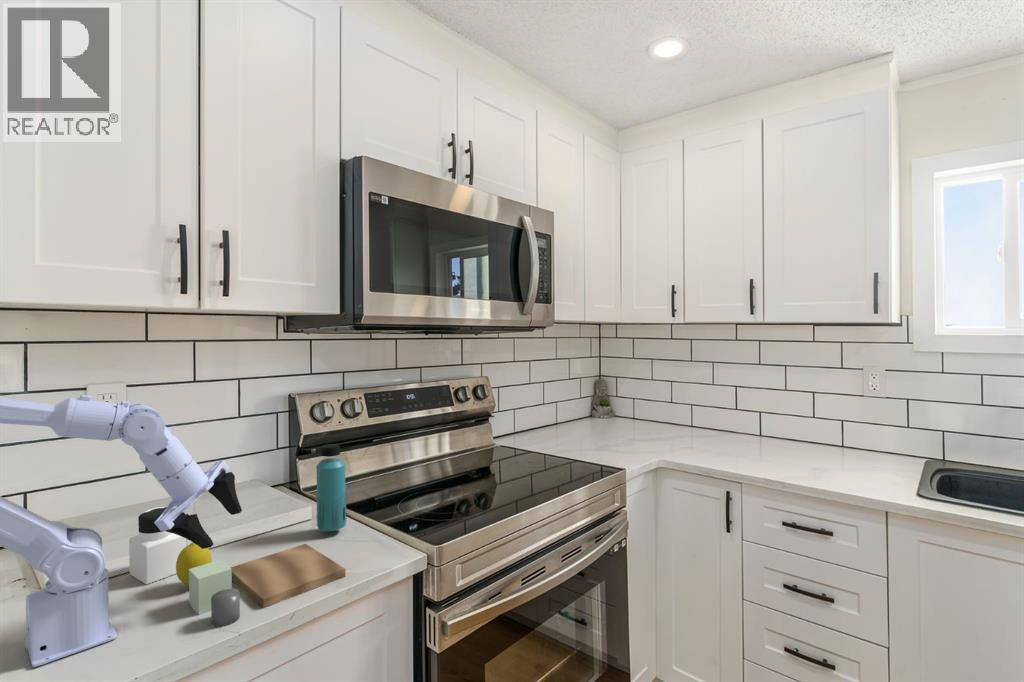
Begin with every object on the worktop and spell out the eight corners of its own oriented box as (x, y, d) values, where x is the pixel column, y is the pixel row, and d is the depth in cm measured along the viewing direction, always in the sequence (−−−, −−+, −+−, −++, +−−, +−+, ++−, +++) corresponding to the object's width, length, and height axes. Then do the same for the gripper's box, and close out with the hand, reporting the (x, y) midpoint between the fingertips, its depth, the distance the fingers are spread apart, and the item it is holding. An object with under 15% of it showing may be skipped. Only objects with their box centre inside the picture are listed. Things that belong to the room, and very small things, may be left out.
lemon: (195, 595, 92) (194, 550, 91) (168, 591, 93) (167, 547, 92) (219, 580, 97) (218, 537, 97) (193, 577, 98) (192, 534, 98)
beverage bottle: (347, 535, 117) (347, 447, 117) (316, 540, 115) (315, 449, 114) (345, 525, 123) (345, 440, 123) (315, 529, 121) (315, 443, 120)
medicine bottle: (188, 570, 101) (187, 508, 100) (146, 585, 95) (144, 520, 94) (170, 560, 105) (169, 501, 104) (129, 574, 99) (127, 511, 98)
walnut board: (263, 608, 88) (263, 599, 88) (228, 576, 99) (228, 568, 98) (345, 576, 99) (345, 568, 99) (305, 550, 110) (305, 543, 109)
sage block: (199, 615, 86) (198, 579, 85) (189, 604, 89) (188, 569, 89) (232, 603, 89) (231, 568, 89) (221, 592, 93) (220, 559, 92)
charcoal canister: (216, 629, 81) (216, 604, 81) (207, 619, 84) (207, 595, 84) (243, 619, 84) (243, 594, 84) (234, 610, 87) (234, 586, 87)
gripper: (158, 495, 78) (211, 559, 83) (222, 436, 91) (265, 495, 96) (126, 504, 80) (180, 565, 85) (192, 445, 93) (236, 502, 98)
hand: (223, 529), depth 91 cm, fingers open, 7 cm apart
